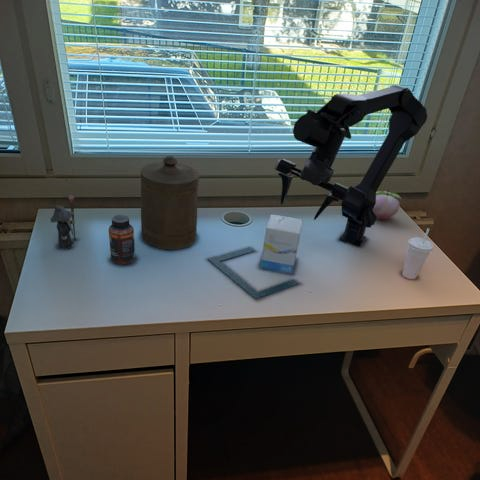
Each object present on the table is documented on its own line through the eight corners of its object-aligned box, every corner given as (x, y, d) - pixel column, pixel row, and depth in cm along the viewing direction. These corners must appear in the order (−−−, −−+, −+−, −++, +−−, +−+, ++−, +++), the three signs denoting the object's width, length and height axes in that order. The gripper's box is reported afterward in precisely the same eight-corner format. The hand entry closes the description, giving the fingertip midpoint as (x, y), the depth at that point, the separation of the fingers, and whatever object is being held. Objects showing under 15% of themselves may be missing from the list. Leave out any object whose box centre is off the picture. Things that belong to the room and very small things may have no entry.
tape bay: (249, 248, 129) (249, 247, 129) (298, 284, 117) (298, 283, 117) (208, 260, 122) (208, 259, 122) (255, 299, 110) (256, 298, 110)
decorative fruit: (392, 215, 156) (401, 186, 150) (396, 226, 149) (405, 196, 143) (364, 211, 156) (372, 182, 150) (366, 222, 150) (374, 192, 144)
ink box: (292, 274, 120) (300, 233, 113) (259, 268, 121) (265, 227, 114) (295, 258, 127) (303, 218, 120) (264, 252, 128) (270, 213, 121)
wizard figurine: (75, 252, 119) (69, 207, 112) (52, 251, 118) (44, 206, 111) (80, 236, 125) (75, 193, 118) (58, 235, 125) (52, 192, 117)
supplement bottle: (140, 258, 120) (138, 217, 113) (126, 268, 115) (123, 226, 108) (120, 251, 121) (117, 210, 114) (105, 261, 117) (102, 219, 110)
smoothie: (408, 283, 122) (426, 235, 114) (392, 271, 127) (408, 223, 118) (426, 279, 125) (445, 231, 117) (409, 267, 129) (426, 220, 121)
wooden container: (203, 230, 135) (207, 153, 121) (185, 254, 123) (188, 172, 110) (154, 220, 137) (152, 143, 123) (132, 243, 125) (128, 160, 112)
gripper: (283, 134, 107) (257, 199, 113) (359, 168, 105) (328, 232, 111) (292, 136, 117) (267, 195, 123) (361, 166, 115) (332, 225, 121)
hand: (298, 211), depth 119 cm, fingers open, 9 cm apart
